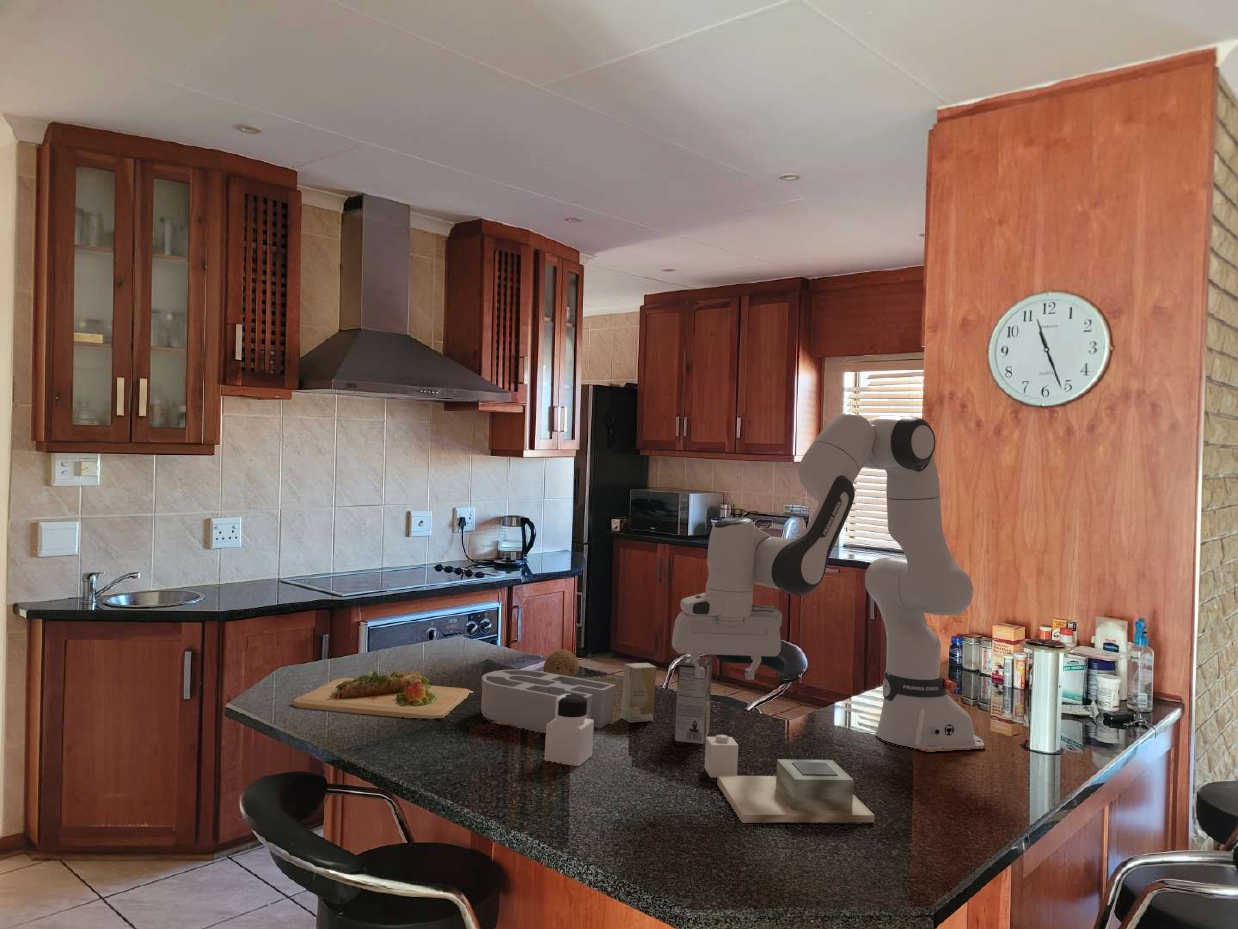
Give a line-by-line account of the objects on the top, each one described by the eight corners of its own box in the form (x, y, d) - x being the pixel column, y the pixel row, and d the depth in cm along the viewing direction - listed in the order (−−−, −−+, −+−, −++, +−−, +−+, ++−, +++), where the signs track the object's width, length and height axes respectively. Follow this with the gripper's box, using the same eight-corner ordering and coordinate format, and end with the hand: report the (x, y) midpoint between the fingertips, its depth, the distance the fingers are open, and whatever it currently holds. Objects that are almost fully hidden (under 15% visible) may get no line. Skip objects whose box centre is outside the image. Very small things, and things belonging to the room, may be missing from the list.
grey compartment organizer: (576, 743, 183) (578, 700, 183) (464, 719, 196) (466, 679, 196) (614, 724, 198) (616, 684, 198) (507, 703, 211) (509, 666, 211)
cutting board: (475, 697, 216) (477, 666, 216) (441, 724, 193) (443, 689, 193) (338, 684, 221) (339, 654, 221) (288, 709, 198) (290, 675, 198)
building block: (730, 768, 172) (732, 732, 172) (736, 777, 167) (738, 741, 167) (704, 768, 171) (706, 732, 171) (710, 777, 166) (712, 740, 166)
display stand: (835, 784, 165) (836, 748, 165) (874, 824, 147) (876, 783, 147) (717, 784, 163) (719, 746, 163) (742, 824, 145) (744, 782, 145)
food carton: (679, 729, 196) (683, 655, 196) (709, 732, 194) (713, 657, 194) (673, 741, 187) (677, 663, 187) (704, 744, 185) (708, 666, 185)
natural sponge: (576, 695, 220) (578, 654, 220) (540, 693, 220) (542, 652, 220) (578, 686, 229) (580, 646, 229) (543, 684, 229) (545, 645, 229)
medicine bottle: (592, 756, 175) (595, 694, 175) (579, 767, 168) (582, 702, 168) (558, 750, 177) (561, 689, 177) (543, 761, 170) (546, 697, 170)
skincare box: (629, 723, 198) (631, 667, 198) (620, 718, 202) (622, 663, 202) (654, 721, 201) (657, 666, 201) (645, 715, 205) (647, 661, 205)
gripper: (777, 603, 173) (773, 675, 173) (672, 599, 171) (668, 672, 171) (787, 609, 167) (783, 683, 167) (678, 604, 164) (674, 680, 164)
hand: (724, 678), depth 169 cm, fingers open, 8 cm apart
